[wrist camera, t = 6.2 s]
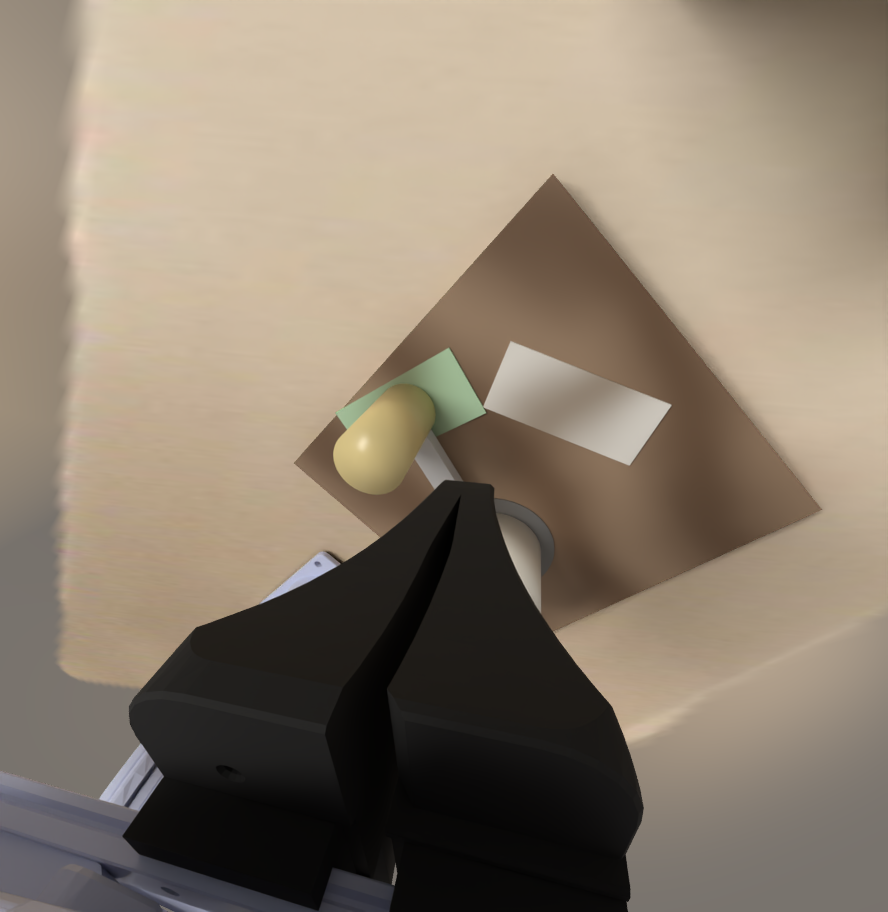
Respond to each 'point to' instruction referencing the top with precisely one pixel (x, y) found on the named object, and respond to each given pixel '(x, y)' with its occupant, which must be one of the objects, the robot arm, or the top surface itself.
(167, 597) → the top surface
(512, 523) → the peg lever
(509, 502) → the brown flat square board
